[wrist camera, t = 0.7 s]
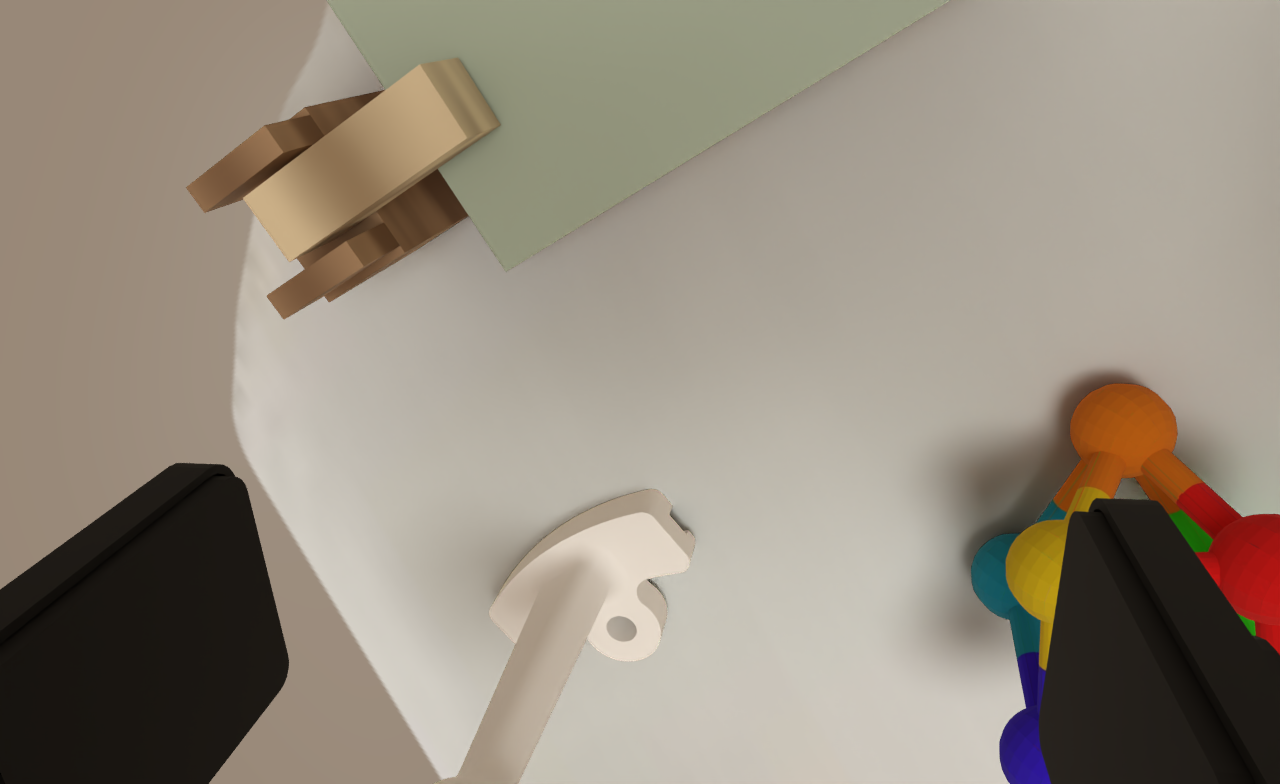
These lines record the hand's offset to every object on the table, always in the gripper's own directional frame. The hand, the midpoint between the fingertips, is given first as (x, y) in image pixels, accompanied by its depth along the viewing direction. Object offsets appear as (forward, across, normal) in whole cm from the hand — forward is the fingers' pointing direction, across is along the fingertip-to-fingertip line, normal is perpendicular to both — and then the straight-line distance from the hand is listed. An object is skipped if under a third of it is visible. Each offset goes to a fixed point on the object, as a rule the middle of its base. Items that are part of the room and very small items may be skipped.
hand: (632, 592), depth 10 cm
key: (+22, +12, -2) cm, 25 cm away
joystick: (+30, +8, +21) cm, 38 cm away
